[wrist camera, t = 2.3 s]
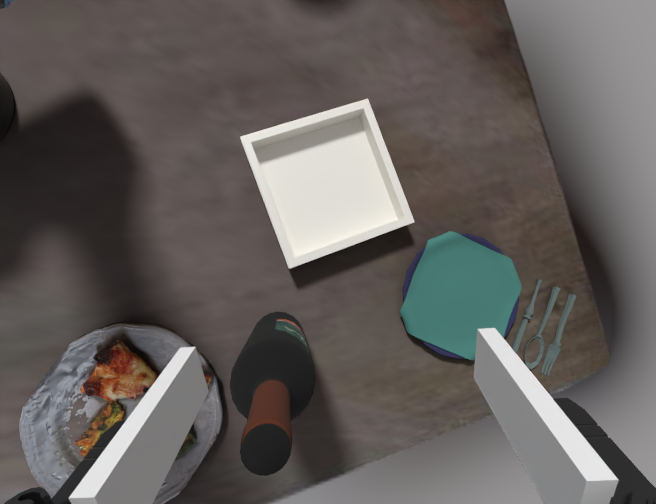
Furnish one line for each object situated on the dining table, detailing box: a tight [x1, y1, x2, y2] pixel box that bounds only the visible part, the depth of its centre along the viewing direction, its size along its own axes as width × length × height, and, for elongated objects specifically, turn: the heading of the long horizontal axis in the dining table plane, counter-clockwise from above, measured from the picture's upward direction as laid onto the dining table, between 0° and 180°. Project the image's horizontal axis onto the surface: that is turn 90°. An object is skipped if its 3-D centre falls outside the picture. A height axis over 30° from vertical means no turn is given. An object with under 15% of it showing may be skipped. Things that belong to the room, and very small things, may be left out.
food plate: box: [19, 322, 223, 504], centre depth 42 cm, size 25×23×4 cm
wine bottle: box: [230, 312, 315, 475], centre depth 32 cm, size 8×8×30 cm
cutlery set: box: [400, 231, 576, 376], centre depth 51 cm, size 20×30×2 cm, turn 67°
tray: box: [240, 99, 414, 269], centre depth 48 cm, size 20×20×4 cm
